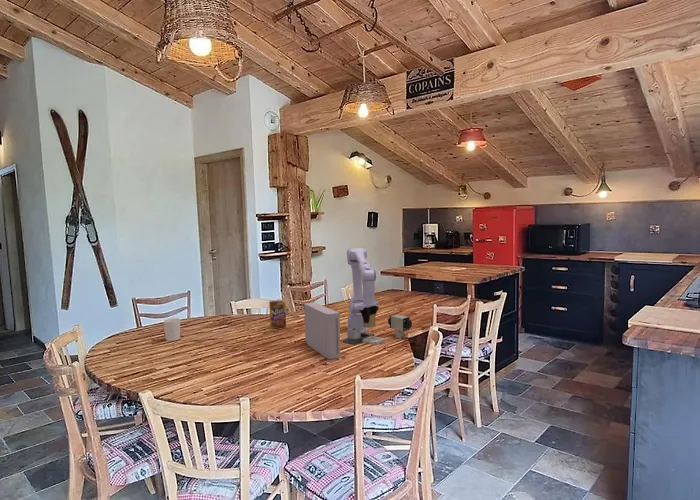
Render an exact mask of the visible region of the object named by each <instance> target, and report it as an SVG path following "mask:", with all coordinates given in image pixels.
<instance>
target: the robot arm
mask: <svg viewBox="0 0 700 500" xmlns="http://www.w3.org/2000/svg"><path fill="white" fill-rule="evenodd" d="M367 252H368V251H367V248H365V247H359V248H354V247H353V248H350V247H349V248H347V251H346V261H347V264H348V266H349V265H350V267H351V277H352V285H353V286H352V288H353V296H352V297H351V298H350V299H349V301H348V303H349V304H348V309H349V314H348V315H347V316H348V317H347V330H348V329H351V328H358V329H360V333H362V332H366V331H369V330H370V328H367V327H363V320H364V323H368V322H369V314H370V313H372V314H375V317H376V315H377V312H378V311H379V308H380V307H379V305H380V304H379V303H380V301H379V300H376V297H375V294H376V293H375V284H376V279H377V273H376V270H375V269H374V268H372V267H371V265H370V262H369V261H367V260H366V259H367V256H368V253H367ZM362 317H363V319H362ZM347 330H346V331H347Z"/></svg>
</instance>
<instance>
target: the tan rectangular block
mask: <svg viewBox="0 0 700 500" xmlns="http://www.w3.org/2000/svg"><path fill="white" fill-rule="evenodd" d="M362 319H363V317H362ZM363 327H366V328H368V329H371V328H375V327H376V316H375V314H372V313H370V314H369V322H368V323H364V320H363Z"/></svg>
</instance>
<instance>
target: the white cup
mask: <svg viewBox="0 0 700 500" xmlns="http://www.w3.org/2000/svg"><path fill="white" fill-rule="evenodd" d="M163 329H164V335H165V341H166V342H167V341H169V342H175V341H178V340H180V339H181V319H180V318H177V317H173V318H167V319H164V320H163Z"/></svg>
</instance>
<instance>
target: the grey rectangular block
mask: <svg viewBox="0 0 700 500" xmlns="http://www.w3.org/2000/svg"><path fill="white" fill-rule="evenodd" d="M347 329H348V328H347ZM346 331H347V338H348V340H352V341H357V340H359V339H361V334H360V333H361V332H360V329H358V328H351V329H348V330H346Z"/></svg>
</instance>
